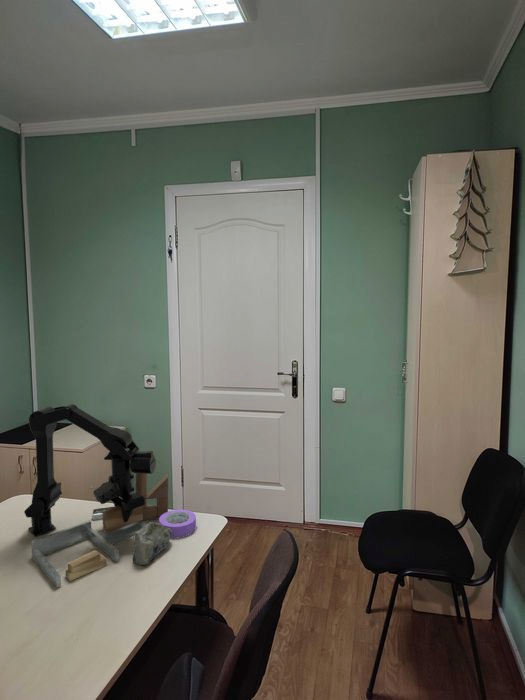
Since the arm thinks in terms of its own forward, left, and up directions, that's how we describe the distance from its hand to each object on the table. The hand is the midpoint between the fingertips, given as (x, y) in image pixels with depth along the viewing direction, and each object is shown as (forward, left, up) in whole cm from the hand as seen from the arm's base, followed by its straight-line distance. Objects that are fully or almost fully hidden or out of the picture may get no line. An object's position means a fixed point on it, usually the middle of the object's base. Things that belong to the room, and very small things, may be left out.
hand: (123, 519), depth 142 cm
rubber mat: (0, 0, -4) cm, 4 cm away
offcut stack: (+12, -17, -4) cm, 21 cm away
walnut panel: (0, 0, -2) cm, 2 cm away
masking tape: (+10, +14, -4) cm, 18 cm away
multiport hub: (-13, +4, -5) cm, 14 cm away
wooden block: (-2, +11, -4) cm, 12 cm away
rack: (+4, -17, -4) cm, 18 cm away
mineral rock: (+18, +1, -4) cm, 18 cm away
